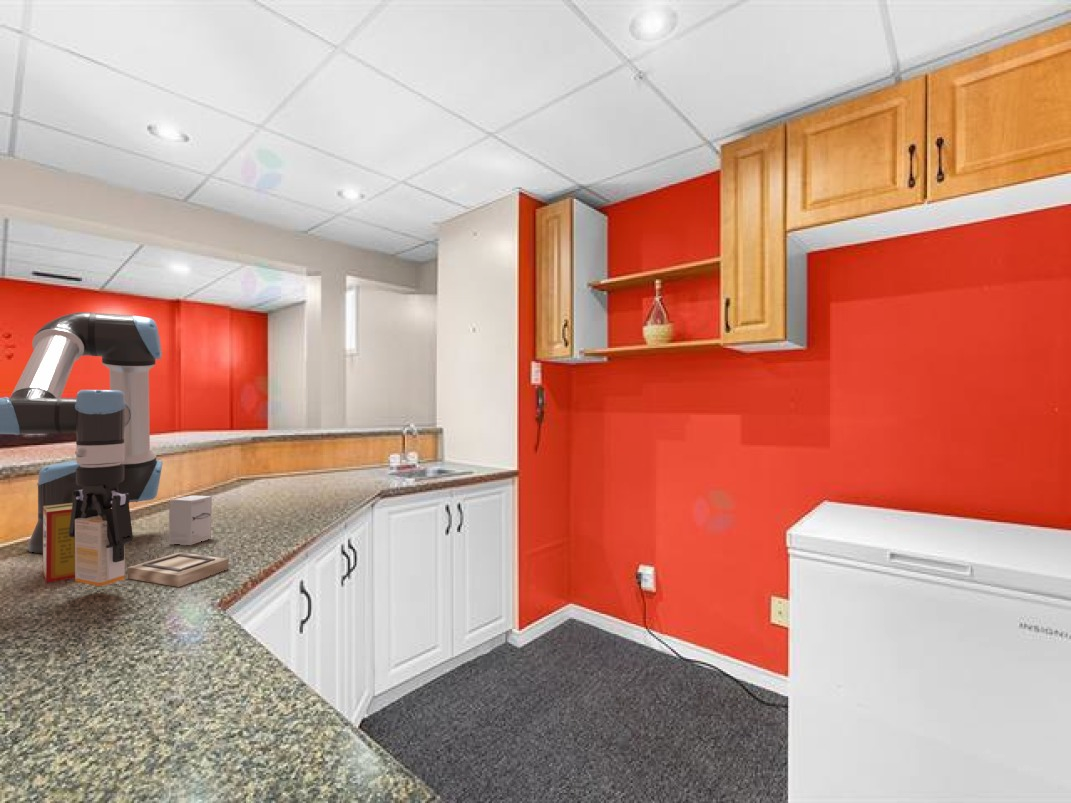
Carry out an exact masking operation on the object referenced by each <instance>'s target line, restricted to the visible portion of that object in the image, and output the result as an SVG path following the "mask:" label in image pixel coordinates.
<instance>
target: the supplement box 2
mask: <svg viewBox="0 0 1071 803" xmlns="http://www.w3.org/2000/svg"><path fill="white" fill-rule="evenodd" d="M212 500H213V499H212V496H211V495H189V496H188V495H187V496H183V497H177V498H173V499H170V500H169V507H168V508H169V511H168V520H169V521H168V544H169V545H174V544H180V545H179V546H186V545H190V546H193V545H195V544H199V543H201V541H202V542H205V541H208V539H209V540H211V539H212V510H213V509H212V508H213V506H212V505H213V504H212V503H213V502H212Z"/></svg>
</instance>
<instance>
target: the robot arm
mask: <svg viewBox="0 0 1071 803" xmlns="http://www.w3.org/2000/svg"><path fill="white" fill-rule="evenodd" d="M159 333H160V332H159V329H158V324H157V322H156V321H155V320H154V319H152V318H150V317H147V316H146V317H145V316H139V315H129V314H128V315H127V314H115V313H97V312H91V311H90V312H88V311H84V312H83V311H82V312H81V311H80V312H79V311H78V312H73V313H69V314H65V315H62V316H59V317H57V318H54V319H53V320H50V321H48V322H47V323H46V324H44V325H43V326H42V327H40V328H39V329H38V330H37V331H36V333H35V335H34V336H33V337H32V342H31V346H32V349H33V351H32V353H31V355H30V357H29V359H28V360H27V363H26V365H25V367H24V369H23V371H22V373H21V375H20V377H19V378H18V381H17V383H16V385H15V387H14V388H13V391H12V392H11V395H10V397H9V396H4V397H0V435H15V436H19V435H41V434H42V435H45V434H75V435H76V442H75V446H76V448H75V449H76V450H75V452H74V454H75V456H76V459H75V460H71V461H65V462H59V463H53V464H49V465H48V464H47V465H45V466H43V467H42V468H40V469H39V471H38V477H37V478H38V479H37V480H38V481H37V484H36V486H37V523H36V524H35V527H34V529H33V531H32V534H31V537H30V538H29V541H28V552H30V553H32V552H34V553H33V554H43V506H48V505H57V504H66V503H73V504H72V512H71V520H70V528H69V536H70V537H74V538H75V519H78V518H89V517H93V516H98V515H99V516H102V520H104V521H107V537H108V540H109V545H107V546H106V579H112V578H116V577H119V576H122V575H124V545H125V546H126V544H128V543H130V542H133V540H134V535H133V527H132V519H131V518H132V517H131V511H130V503H139V502H145V501H146V502H147V501H151V500H154V499H155V498H156V497H157V496H158V493H159V487H160V481H161V475H162V474H161V473H162V469H163V468H162V467H163V461H162V460H159V459H157V454H156V453H154V452H153V451H152V450H151V445H150V444H151V441H150V440H151V439H150V438H151V437H150V436H151V435H150V434H151V433H150V372H149V371H150V370H151V369H153V368H154V366H156V360H160V359H162V356H163V355H162V346H161V338H160V334H159ZM83 356H86V357H87V356H88V357H91V356H92V357H101V364H102V365H103V366H104V367H106V368H107V369H108V370H109V389H80V390H79V391H78V392H77V393H76V397H75V398H72V397H71V398H69V397H68V398H67V397H66V398H65V397H62V395H63V393H64V391H65V387H66V384H67V382H68V379H69V378H70V374H71V372H72V369H73V367H74V364H75V362H76V361H77V360H80V359H81V358H82V357H83ZM115 538H116V540H115Z"/></svg>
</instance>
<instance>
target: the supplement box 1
mask: <svg viewBox="0 0 1071 803" xmlns="http://www.w3.org/2000/svg"><path fill="white" fill-rule="evenodd" d="M115 540H116V538H115ZM107 545H109V540H108V537H107V521H104V520H102V516H99V515H98V516H93V517H89V518H78V519H75V578H74V579H75V581H74V582H76V583H81V584H88V585H91V586H97V587H104V586H107V585H111V584H114V583H117V582H121V581H124V580H125V579H126V544H125V545H124V575H122V576H119V577H116V578H112V579H106V546H107Z"/></svg>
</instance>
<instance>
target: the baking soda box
mask: <svg viewBox="0 0 1071 803" xmlns="http://www.w3.org/2000/svg"><path fill="white" fill-rule="evenodd" d="M72 504H73V503H66V504H57V505H48V506H43V553H42V575H43V578H44V577H45V578H44V579H45V583H47V584H48V582H49V583H53V582H57V581H58V582H59V581H63V580H64V579H65V580H68V579H75V578H74V577H75V538H74V537H70V536H69V528H70V520H71V512H72Z"/></svg>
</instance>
